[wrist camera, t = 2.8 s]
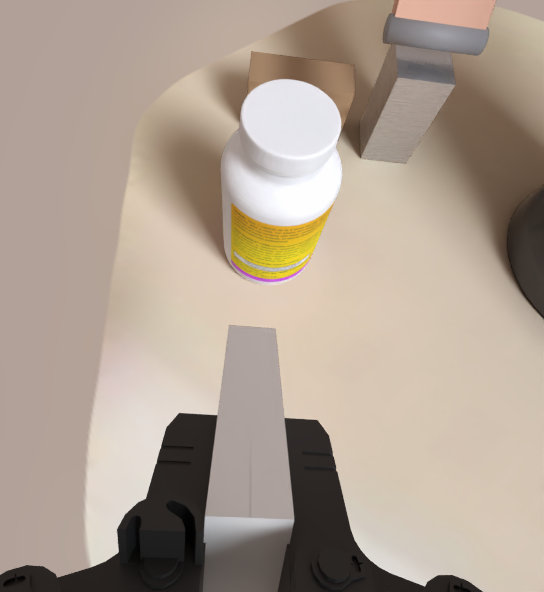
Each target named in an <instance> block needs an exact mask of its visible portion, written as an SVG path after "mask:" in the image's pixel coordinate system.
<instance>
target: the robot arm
mask: <svg viewBox="0 0 544 592" xmlns="http://www.w3.org/2000/svg"><path fill="white" fill-rule="evenodd" d="M508 252H509V258H510V262H511V265H512V268H513V271H514V274H515V276H516V278H517V280H518V282H519V284H520V286H521V288H522V290H523V291H524V293H525V294H526V296H527V297H528V299H529V300H530V301H531V303H532V304H533V305H534V306H535V308H536V309H537V310H538V311H539V312H540V313H541V314H542V315H543V316H544V184H543V185H542V186H541V187H540V188H538V189H537V190H536V191H535V192H533V193H532V194H531V195H530V196H528V197H527V198H526V199H525V200H524V201H523V202H522V203H521V204H520V205H519V206H518V208H517V209H516V211H515V213H514V214H513V217H512V219H511V222H510V225H509V230H508ZM117 533H118V546H119V553H118V554H116V555H115V556H113V557H112V558H110V559H109V560H107V561H106V562H103V563H101V564H99V565H96V566H94V567H91V568H88V569H85V570H81V571H78V572H75V573H71V574H68V575H65V576H62V577H58V578H57V577H56V574H54V573H53V572H51V571H50V570H48V569H46V568H45V567H43V566H29V565H26V566H23V567H20V568H16V569H12V570H9V571H6V572H5V573H3V574H1V575H0V592H482V591H481V590H480V589H478V588H477V587H475V586H474V585H473V584H471V583H470V582H469V581H466V580H464V579H461V578H458V577H456V576H453V575H438V576H436V577H435V578H433V579H431V580H430V581H428V582H427V584H426V586H422V585H419V584H417V583H414V582H411V581H409V580H406V579H404V578H401V577H398V576H396V575H393V574H391V573H389V572H387V571H385V570H383V569H381V568H379V567H378V566H377V565H375V564H374V563H373V562H371V561H370V560H369V559H368V558H367V557H366V556H365V554H364V553H363V552H362V551H361V550H360V548H359V547H358V545H357V543H356V542H355V540H354V537H353V535H352V532H351V529H350V525H349V520H348V516H347V512H346V507H345V503H344V499H343V495H342V490H341V486H340V482H339V477H338V473H337V472H336V465H335V460H334V456H333V452H332V447H331V443H330V439H329V435H328V434H327V432H326V431H325V430H324V428H323V427H322V426H321V424H320V423H319V422H318V420H307V419H290V418H284V409H283V399H282V389H281V378H280V368H279V358H278V348H277V338H276V329H274V328H261V327H249V326H236V325H229V330H228V338H227V346H226V353H225V361H224V369H223V377H222V385H221V393H220V401H219V409H218V415H202V414H185V413H179V414H178V415H177V416H176V417H175V419H174V420H173V421H172V422H171V423H170V424H169V425H168V426H167V428H166V431H165V435H164V438H163V442H162V445H161V449H160V452H159V455H158V459H157V464H156V466H155V469H154V473H153V476H152V480H151V483H150V487H149V490H148V494H147V497H146V499H145V500H143V501H140V502H138V503H137V504H136V505H135V506H134V507H133V508H132V509H131V510H130V511H128V512H127V513H126V514H125V516H124V518H123V520H122V522H121V523H120V525H119V527H118V529H117Z"/></svg>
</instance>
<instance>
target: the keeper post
mask: <svg viewBox="0 0 544 592" xmlns="http://www.w3.org/2000/svg"><path fill="white" fill-rule="evenodd" d="M455 85H456V84H455V78H454V71H453V64H452V57H451V52H445V51H438V50H431V49H423V48H416V47H409V46H401V45H394V44H391V46H390V49H389V51H388V53H387V56H386V58H385V61H384V63H383V66H382V68H381V71H380V73H379V76H378V78H377V81H376V83H375V86H374V88H373V91H372V93H371V95H370V98H369V100H368V103H367V105H366V108H365V110H364V113H363V115H362V118H361V120H360V151H361V158H362V159H371V160H380V161H388V162H397V163H406V162H407V161H408V159H409V158H410V156H411V155H412V153H413V151H414V150H415V148H416V147H417V145H418V143H419V142H420V140H421V139H422V137H423V136H424V134H425V132H426V131H427V129H428V128H429V126H430V125H431V123H432V121H433V120H434V118H435V117H436V115H437V114H438V112H439V110H440V109H441V107H442V106H443V104H444V102H445V101H446V99H447V98H448V96H449V95H450V93H451V91H452V90H453V88H454V87H455Z"/></svg>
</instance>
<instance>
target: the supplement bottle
mask: <svg viewBox="0 0 544 592" xmlns="http://www.w3.org/2000/svg"><path fill="white" fill-rule="evenodd" d="M340 131H341V117H340V113H339V111H338V109H337V107H336V105H335V103H334V102H333V101H332V99H331V98H330V97H329V96H328V95H327V94H325V93H324V92H323V91H321V90H320V89H319V88H317V87H315V86H313V85H311V84H308V83H306V82H302V81H298V80H291V79H279V80H273V81H269V82H266V83H263V84H261V85H259V86H258V87H256V88H255V89H253V90H252V91H251V92H250V93H249V94H248V95H247V97H246V98H245V100H244V102H243V104H242V107H241V113H240V125H239V129H238V130H237V131H235V133H234V134H233V135H232V136H231V137H230V139H229V140H228V142H227V144H226V146H225V148H224V151H223V154H222V158H221V191H222V213H223V239H224V249H225V254H226V257H227V259H228V261H229V263H230V264H231V266H232V267H233V268H234V270H235V271H236V272H237V273H238V274H240V275H241V276H242V277H244V278H245V279H247V280H249V281H251V282H254V283H257V284H262V285H277V284H282V283H285V282H287V281H290V280H292V279H293V278H295V277H296V276H298V275H299V274H300V273H301V272H302V271H303V270H304V269H305V267H306V266H307V264H308V262H309V260H310V258H311V256H312V254H313V251H314V249H315V246H316V244H317V242H318V239H319V237H320V234H321V232H322V229H323V227H324V225H325V222H326V220H327V218H328V215H329V213H330V211H331V208H332V206H333V204H334V201H335V199H336V197H337V194H338V192H339V189H340V186H341V181H342V165H341V160H340V157H339V154H338V151H337V149H336V144H337V141H338V138H339V135H340Z"/></svg>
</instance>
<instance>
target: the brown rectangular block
mask: <svg viewBox="0 0 544 592" xmlns="http://www.w3.org/2000/svg"><path fill="white" fill-rule="evenodd" d="M279 79H291V80H298V81H302V82H306V83H308V84H311V85H313V86H315V87H317V88H319V89H320V90H321V91H323V92H324V93H325V94H327V95H328V96H329V97H330V98H331V99H332V101H333V102H334V103H335V105H336V107H337V109H338V111H339V113H340V117H341V131H340V134H341V132H342V129H343V126H344V123H345V120H346V118H347V115H348V112H349V109H350V106H351V104H352V101H353V98H354V95H355V76H354V65H351V64H344V63H336V62H328V61H321V60H313V59H306V58H298V57H291V56H283V55H275V54H268V53H260V52H253V51H251V60H250V69H249V79H248V94H249V93H250V92H251V91H252V90H253V89H255V88H256V87H258V86H259V85H261V84H263V83H266V82H269V81H273V80H279ZM339 137H340V135H339ZM338 140H339V138H338ZM337 142H338V141H337Z"/></svg>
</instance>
